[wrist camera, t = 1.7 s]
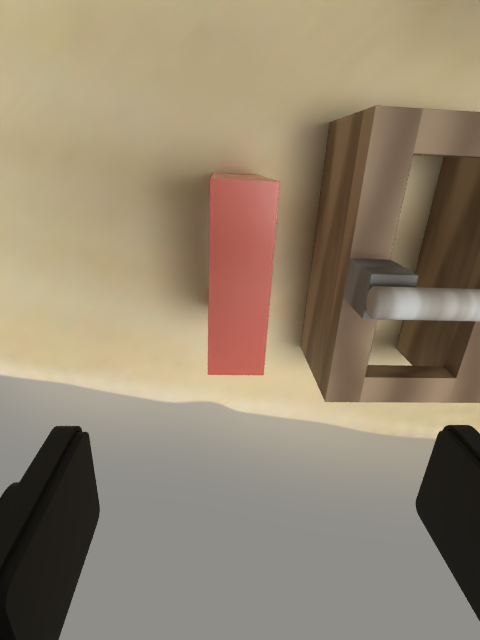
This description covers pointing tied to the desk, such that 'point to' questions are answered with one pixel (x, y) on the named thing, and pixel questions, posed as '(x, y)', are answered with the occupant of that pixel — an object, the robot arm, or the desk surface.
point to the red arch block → (240, 271)
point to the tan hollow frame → (387, 276)
